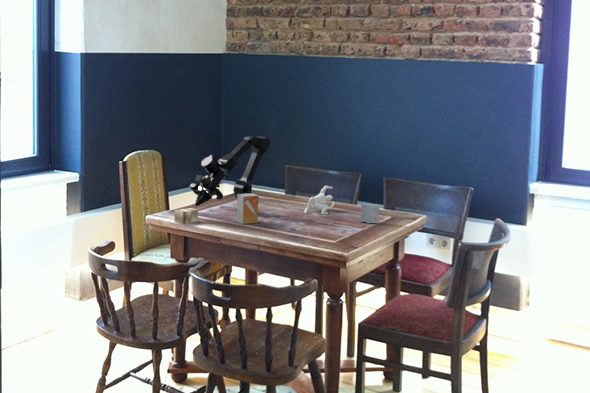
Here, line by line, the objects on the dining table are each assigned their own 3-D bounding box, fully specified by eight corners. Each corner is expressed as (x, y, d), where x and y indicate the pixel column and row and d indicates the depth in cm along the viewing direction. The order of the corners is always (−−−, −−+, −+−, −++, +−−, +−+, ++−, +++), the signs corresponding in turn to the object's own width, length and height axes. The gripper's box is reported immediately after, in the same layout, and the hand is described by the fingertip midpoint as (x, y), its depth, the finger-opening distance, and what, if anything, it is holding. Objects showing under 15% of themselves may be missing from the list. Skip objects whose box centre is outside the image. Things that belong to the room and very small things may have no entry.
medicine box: (378, 222, 314) (379, 204, 312) (376, 224, 310) (377, 206, 308) (362, 220, 316) (363, 203, 315) (360, 222, 312) (361, 204, 311)
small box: (242, 224, 299) (243, 196, 297) (235, 221, 304) (236, 193, 302) (258, 222, 303) (258, 195, 301) (251, 220, 309) (252, 192, 306)
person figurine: (324, 194, 322) (331, 182, 339) (299, 197, 326) (308, 185, 343) (329, 218, 326) (336, 206, 342) (305, 221, 330) (313, 209, 346)
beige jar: (190, 207, 304) (174, 210, 298) (198, 209, 301) (182, 212, 294) (190, 219, 305) (174, 222, 299) (197, 221, 302) (182, 224, 295)
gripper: (192, 166, 310) (173, 191, 304) (218, 171, 298) (199, 197, 292) (205, 181, 317) (186, 206, 311) (231, 186, 305) (212, 213, 299)
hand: (195, 205), depth 303 cm, fingers closed
